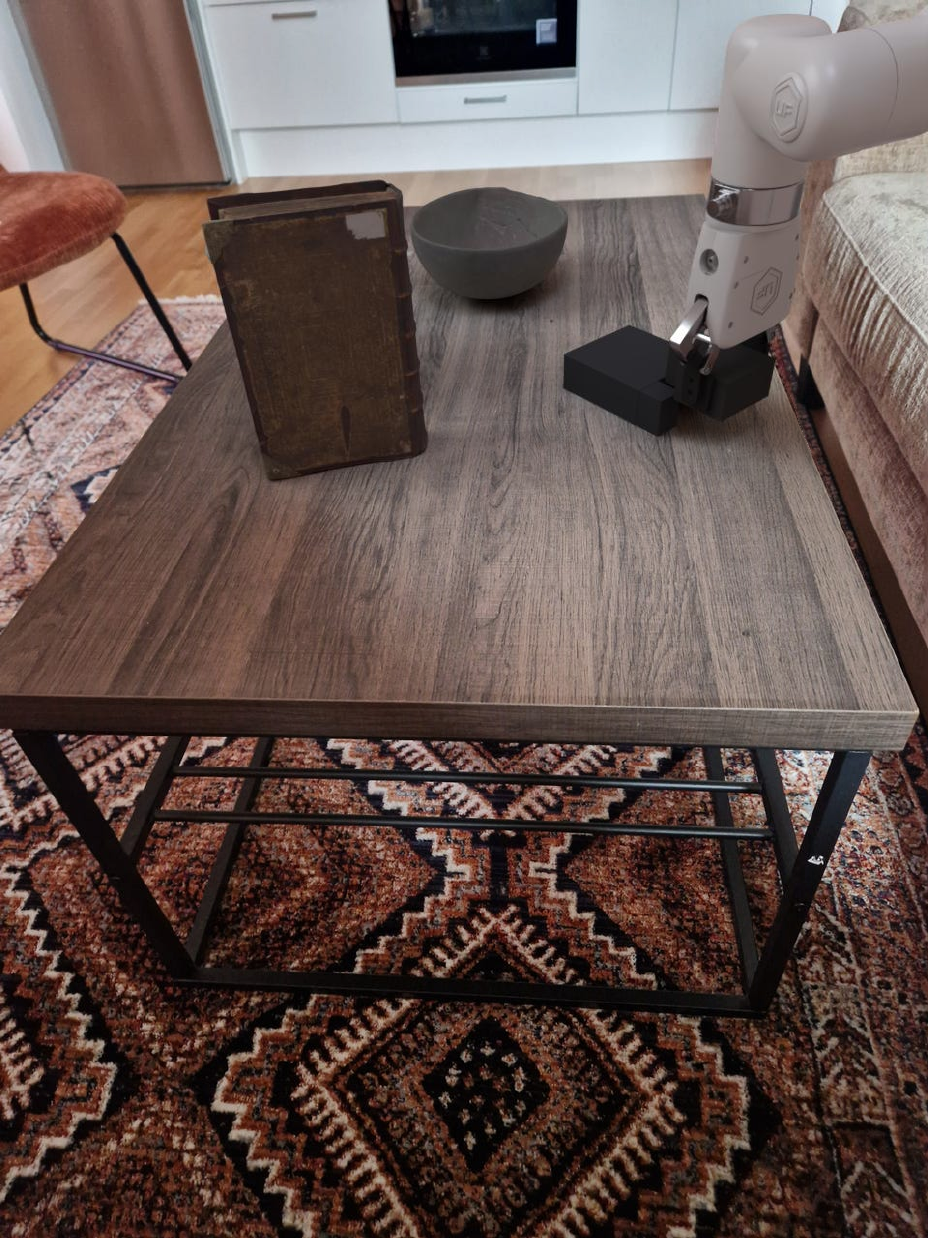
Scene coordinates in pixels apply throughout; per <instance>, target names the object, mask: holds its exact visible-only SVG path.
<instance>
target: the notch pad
mask: <svg viewBox="0 0 928 1238" xmlns="http://www.w3.org/2000/svg"><path fill="white" fill-rule="evenodd" d="M669 341H670V340H668V339H665V338H663V337H660V336H658V335H655V334H653V333H650V332H648V331H647V330H643V329H641V328H639V327H637V326H634V325H633V324H632V325H631V324H627V325H625V326H623V327H620V328H618V329H616V330H614V331H612V332H609V333H607V334H605V335H603V336H601V337H599V338H596V339H594V340H592V341H589V342H587V343H585V344H582V345H581V346H579V347H577V348H574V349H572V350H569V351H568V352H566V353H563V376H562V377H563V379H562V388H563V389H565V390H567V391H569V392H570V393H572V394H574V395H577V396H579V397H580V398H582V399H584V400H586V401H588V402H590V403H592V404H593V405H595V406H598V407H599V408H601V409H604V410H605V411H607V412H609V413H611V414H613V415H615V416H616V417H619V418H621V419H622V420H624V421H627V422H629V423H631V424H632V425H634V426H637V427H639V428H640V429H642V430H644V431H647V432H648V433H650V434H652V435H654V436H656V437H659V436H661V435H664V434H665V433H667V432H669V431H671V430H672V429H675V428H676V427H677V424H678V417H679V416H678V415H679V408H680V402H678V401H676V400H674V399H673V397H674V389H675V387H674V386H671V385H669V384H667V383H665V379H666V370H667V361H668V352H669V346H670V345H669Z"/></svg>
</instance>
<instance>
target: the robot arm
mask: <svg viewBox="0 0 928 1238" xmlns="http://www.w3.org/2000/svg"><path fill="white" fill-rule="evenodd" d="M722 73H723V74H722V79H721V80H722V81H721V89H720V96H719V102H718V103H719V104H718V112H717V120H716V127H715V136H714V143H713V151H712V157H711V158H712V159H711V166H710V177H709V183H708V191H707V198H706V206H705V213H704V218H705V220H704V221H703V222H702V226H701V229H700V232H699V236H698V239H697V244H696V246H695V247H696V248H695V252H694V256H693V261H692V265H691V270H690V274H689V280H688V286H687V292H686V299H685V306H684V316H683V320H682V321H681V322H680V324H679V325H678V327H676V329H675V331H674V332H673V334H672V335H671V337H669V340H668V341H669V345H670V347H671V348H672V350H673V351H674V352H675V354H676V357H677V358H678V359H679V360H680V361H681V365H682V366H685V369H684V377H683V385H682V393H681V401H682V402H683V403H685V404H687V405H689V406H691V407H693V408H696V409H698V410H700V411H702V412H707V411H708V410H710V408H711V401H712V395H713V389H714V382H715V377H716V373H715V372H713V371H711V370H712V368H713V366H714V364H715V361H716V359H717V357H718V355H719V352H720V350H721V348H722V349H727V348H730V347H733V346H735V345H737V344H742V345H744V346H747V347H749V348H752V349H754V350H757V351H759V352H761V353H764V354H767V355H769V356H770V348H771V343H773V341H775V338H776V336H777V329H776V328H777V327H778V325H779V324H780V323H781V322H783V321H784V320H785V319H786V318H787V317H788V316H789V314H790V311H791V308H792V303H793V299H794V295H795V293H796V282H797V276H798V269H799V261H800V254H801V245H802V243H801V242H802V229H803V223H802V222H803V217H802V215H803V214H802V213H803V211H802V209H801V205H802V199H803V194H804V190H805V185H806V180H807V175H808V171H809V165H810V163H817V162H824V161H828V160H832V159H837V158H839V157H844V156H847V155H852V154H855V153H859V152H861V151H865V150H868V149H872V148H876V147H881V146H885V145H888V144H893V143H897V142H901V141H904V140H908V139H913V138H916V137H918V136H921V135H923V134H926V133H927V132H928V3H927V4H926V5H925V6H924V7H923V8H922V9H921V10H920V11H919V12H918V13H917V14H915V15H914V16H912V17H907V18H901V19H895V20H891V21H886V22H881V23H877V24H871V25H867V26H863V27H857V28H856V27H855V28H853V29H850V30H844V31H839V32H834V33H833V30H832V27H831V26H830V24H829V23H827V21H826V20H824V19H822V18H820V17H817V16H814V15H809V14H803V13H802V14H801V13H775V14H767V15H765V14H764V15H760V16H754V17H751V18H749V19H746V20H744V21H742V22H740V23H739V24H738V25H737V26H736V27H735V28H734V30H733V31H732V32H731V34H730V36H729V39H728V41H727V45H726V50H725V57H724V64H723V71H722ZM706 330H707V332H708V334H706V333H705V332H706ZM701 342H705V343H707V344H710V346H709V348H708V350H707V352H706V355H705V357H703V356H702V355H701V354H700V353H699V352H698V349H699V347H700V345H701Z"/></svg>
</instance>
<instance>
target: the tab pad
mask: <svg viewBox="0 0 928 1238" xmlns="http://www.w3.org/2000/svg"><path fill="white" fill-rule="evenodd" d="M709 346H710V344H707V343H705V342H701V345H700V347H699V349H698V352H699V353H700V354H701V355H702V356H703V357H705V355H706V352H707V350H708V348H709ZM776 361H777V358H776V357H774V356H771V355H770V354H769V355H767V354H764V353H761V352H759V351H757V350H754V349H752V348H749V347H747V346H744V345H742V344H737V345H735V346H733V347H730V348H727V349H722V348H721V350H720V352H719V355H718V357H717V359H716V361H715V364H714V366H713V368H712V370H711V371H713V372H715V373H716V377H715V382H714V389H713V395H712V401H711V408H710V410H708V411H707V412H702V411H700V410H698V409H696V408H693V407H691V406H689V405H687V404H685V403H683V402H682V401H681V393H682V385H683V377H684V369H685V366H682V365H681V361H680V360H679V359H678V358H677V357H676V354H675V352H674V351H673V350H672V348H671V347H670V346H669V352H668V361H667V370H666V379H665V383H667V384H669V385H671V386H674V387H675V389H674V397H673V399H674V400H676V401H678V402H679V404H682V405H684V406H687V407H688V408H690V409H692V410H695V411H697V412H699V413H700V414H702V415H705V416H707V417H709V418H711V419H714V420H715V421H717V422H720V423H723V422H724V421H726V420H728V419H730V418H732V417H734V416H735V415H737V414H739V413H741V412H743V411H744V410H747V409H748V408H750V407H752V406H754V405H756V404H757V403H759V402H760V401H762V400H765V399H766V398H768V397H769V395H770V391H771V390H770V389H771V386H772V381H773V376H774V372H775V366H776Z"/></svg>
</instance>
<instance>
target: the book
mask: <svg viewBox="0 0 928 1238" xmlns="http://www.w3.org/2000/svg"><path fill="white" fill-rule="evenodd" d="M206 207H207V211H208V215H209V219H210V220H206V221H203V222H201V228H202V234H203V238H204V242H205V247H206V246H207V250H208V254H209V257H210V260H209V262H210V264H211V265H212V264H213V265H212V268H213V267H214V268H213V270H215V271H214V273H215V278H216V282H217V286H218V290H219V293H220V296H221V301H222V304H223V308H224V313H225V316H226V320H227V323H228V327H229V333H230V336H231V340H232V342H233V347H234V350H235V354H236V358H237V361H238V365H239V366H238V367H239V370H240V374H241V377H242V382H243V385H244V390H245V394H246V398H247V402H248V406H249V409H250V414H251V417H252V422H253V425H254V426H253V427H254V429H255V430H254V431H255V433H256V438H257V440H258V444H259V451H260V455H261V460H262V463H263V467H264V471H265V475H266V478H267V480H270V481H271V480H281V479H288V478H295V477H299V476H302V475H309V474H311V473H316V472H322V471H327V470H328V471H329V470H333V469H338V468H341V467H342V468H343V467H348V466H349V467H350V466H355V465H361V464H366V463H373V462H391V461H398V460H405V459H409V458H414V457H416V455H417V454H419V453H422V452H423V451H424V450H425V448H426V447H427V444H428V443H427V442H428V438H429V436H428V435H429V434H428V431H427V428H426V422H425V415H424V413H425V412H424V403H425V402H424V393H423V391H422V387H421V375H420V368H421V360H420V359H419V355H418V347H417V336H416V332H417V322H416V320H415V315H414V306H413V295H412V294H413V284H412V282H411V276H410V267H409V258H408V249H409V244H408V239H407V238H406V226H405V213H404V212H405V211H404V194H403V191H402V189H399V188H398V187H397V186H395V184H393V183H391V182H386V181H385V180H383V179H370V180H369V179H368V180H361V181H353V182H352V181H351V182H342V183H337V184H332V185H331V184H330V185H323V186H311V187H309V186H308V187H301V188H293V189H292V188H291V189H283V190H276V191H275V190H273V191H263V192H238V193H237V192H236V193H230V194H229V193H228V194H223V195H215V196H211V197H206Z"/></svg>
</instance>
